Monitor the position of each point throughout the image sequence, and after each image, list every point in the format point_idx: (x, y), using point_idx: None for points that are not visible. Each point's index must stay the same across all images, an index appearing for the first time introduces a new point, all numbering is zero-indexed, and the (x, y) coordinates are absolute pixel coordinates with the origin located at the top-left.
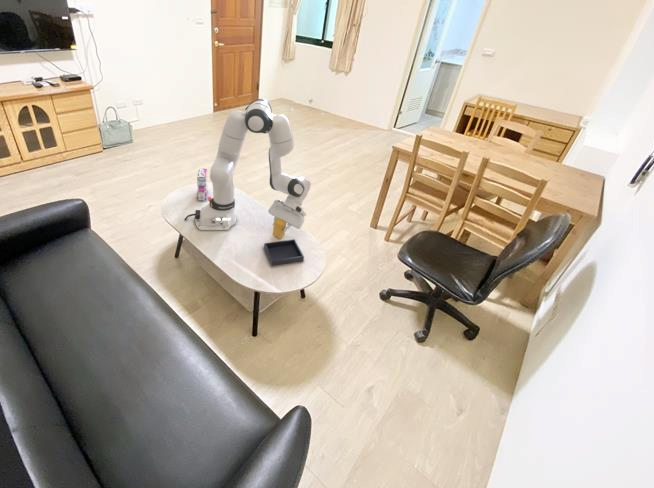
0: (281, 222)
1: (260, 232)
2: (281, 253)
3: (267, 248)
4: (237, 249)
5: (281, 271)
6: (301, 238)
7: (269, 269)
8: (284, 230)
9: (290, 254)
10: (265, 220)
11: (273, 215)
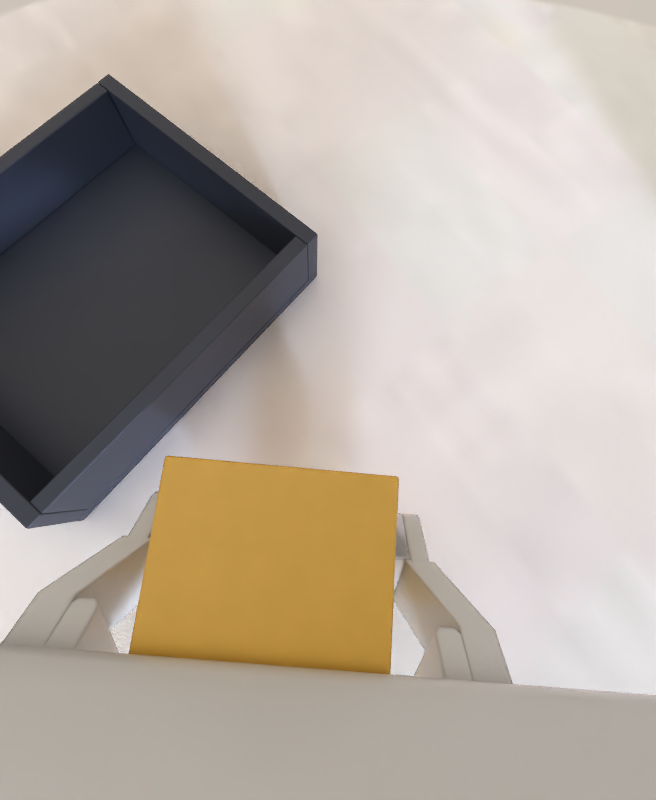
0: (232, 564)
1: (490, 455)
2: (130, 301)
3: (243, 188)
4: (484, 146)
5: None
6: None
7: None
8: (152, 498)
9: (41, 342)
10: None
11: (566, 688)
